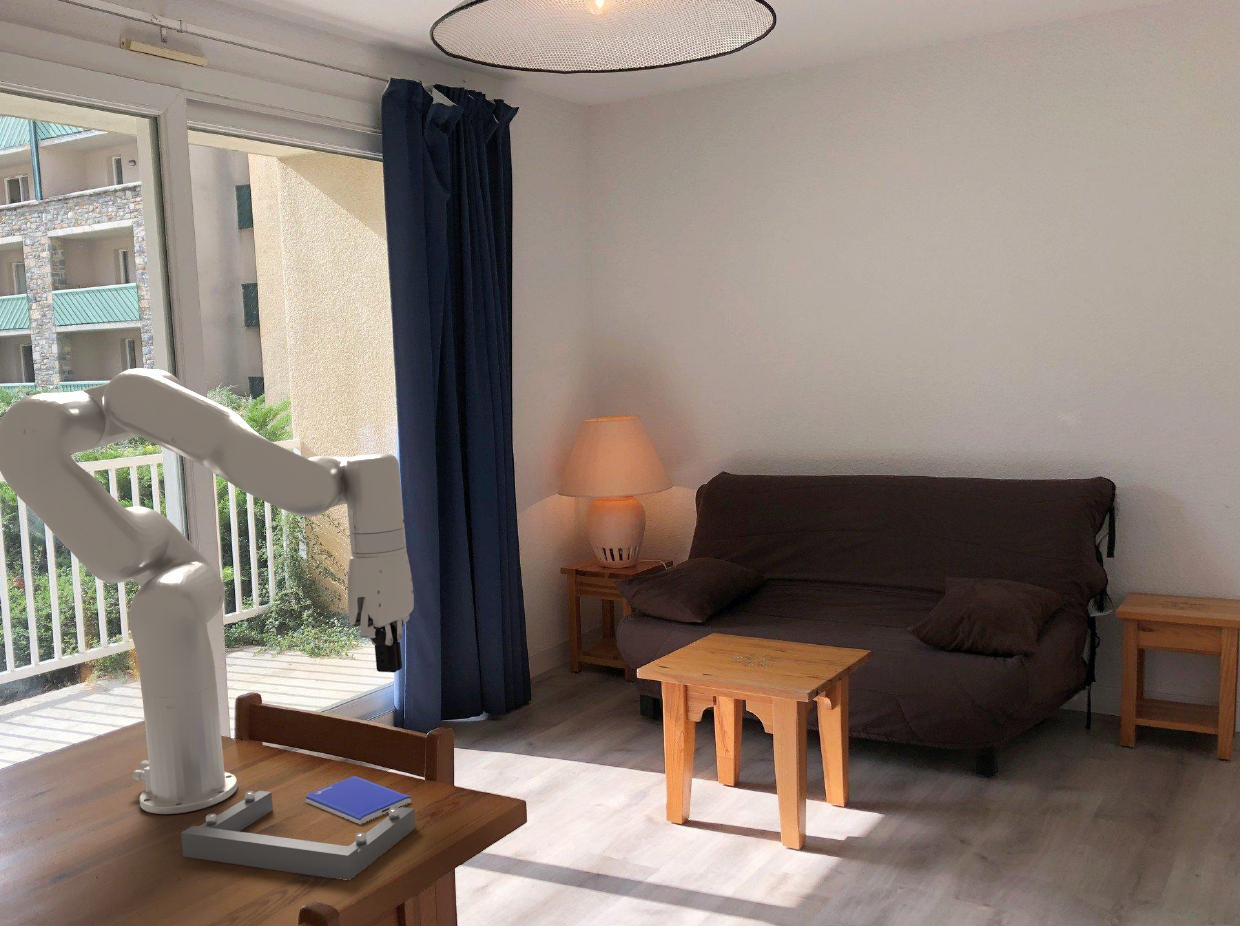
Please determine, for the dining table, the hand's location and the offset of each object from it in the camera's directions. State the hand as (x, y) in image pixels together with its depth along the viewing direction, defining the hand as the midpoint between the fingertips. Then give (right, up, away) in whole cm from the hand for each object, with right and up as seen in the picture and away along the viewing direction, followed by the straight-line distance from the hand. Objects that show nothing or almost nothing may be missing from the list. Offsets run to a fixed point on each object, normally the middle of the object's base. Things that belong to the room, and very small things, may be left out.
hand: (389, 670), depth 146 cm
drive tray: (-7, -18, -18) cm, 26 cm away
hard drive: (-3, -17, -7) cm, 19 cm away
